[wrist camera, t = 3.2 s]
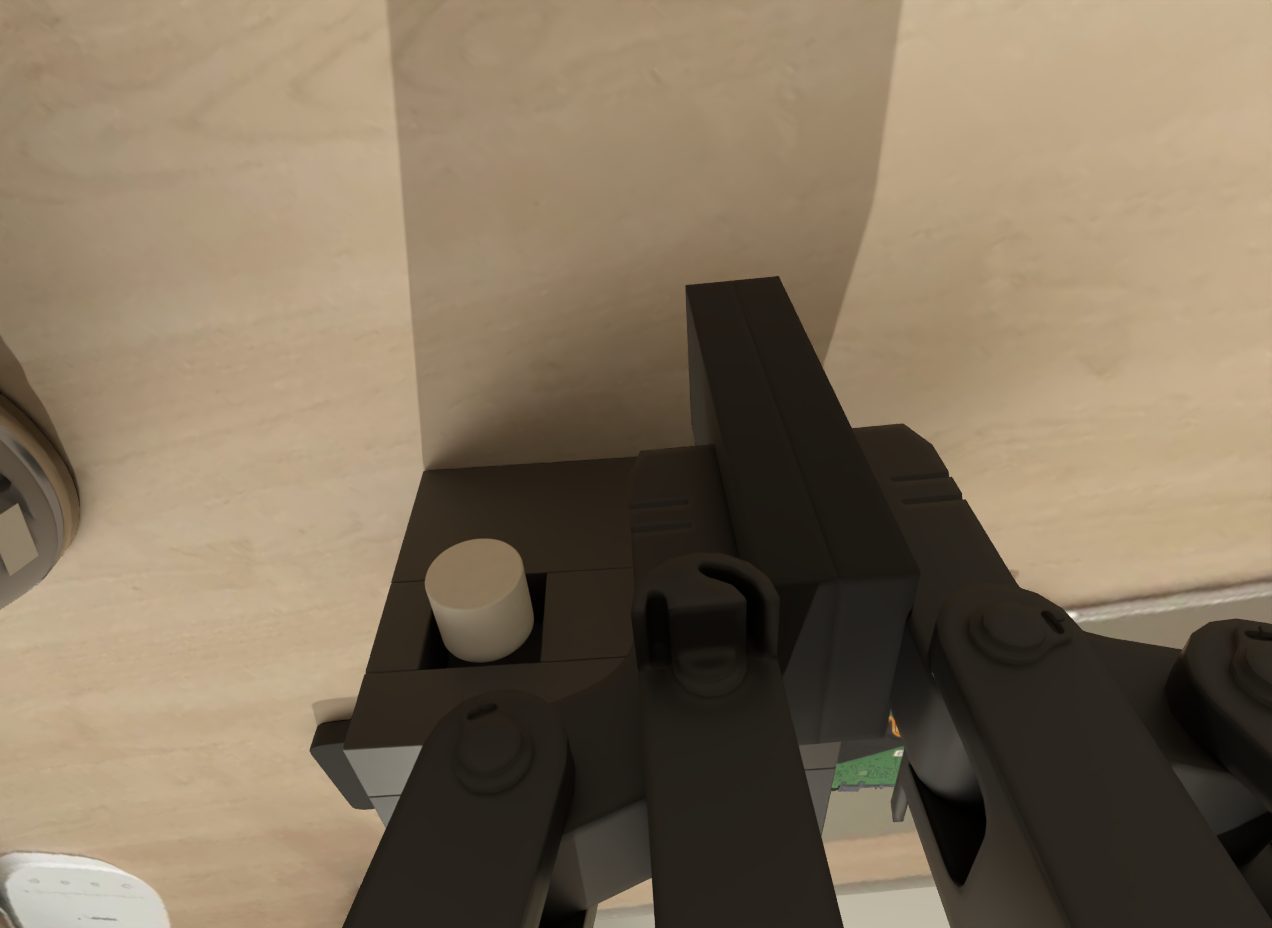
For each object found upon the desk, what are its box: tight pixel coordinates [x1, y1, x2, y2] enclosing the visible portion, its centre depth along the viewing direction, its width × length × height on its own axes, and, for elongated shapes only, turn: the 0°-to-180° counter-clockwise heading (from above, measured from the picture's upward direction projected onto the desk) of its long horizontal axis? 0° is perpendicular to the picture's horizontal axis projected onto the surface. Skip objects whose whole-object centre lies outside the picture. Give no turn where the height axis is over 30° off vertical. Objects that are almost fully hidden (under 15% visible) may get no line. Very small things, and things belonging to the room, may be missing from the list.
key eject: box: [425, 539, 534, 663], centre depth 27 cm, size 3×3×3 cm
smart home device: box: [309, 720, 375, 810], centre depth 48 cm, size 8×2×20 cm
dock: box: [343, 457, 841, 836], centre depth 32 cm, size 8×16×14 cm, turn 93°
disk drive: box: [831, 711, 904, 792], centre depth 46 cm, size 10×3×15 cm
